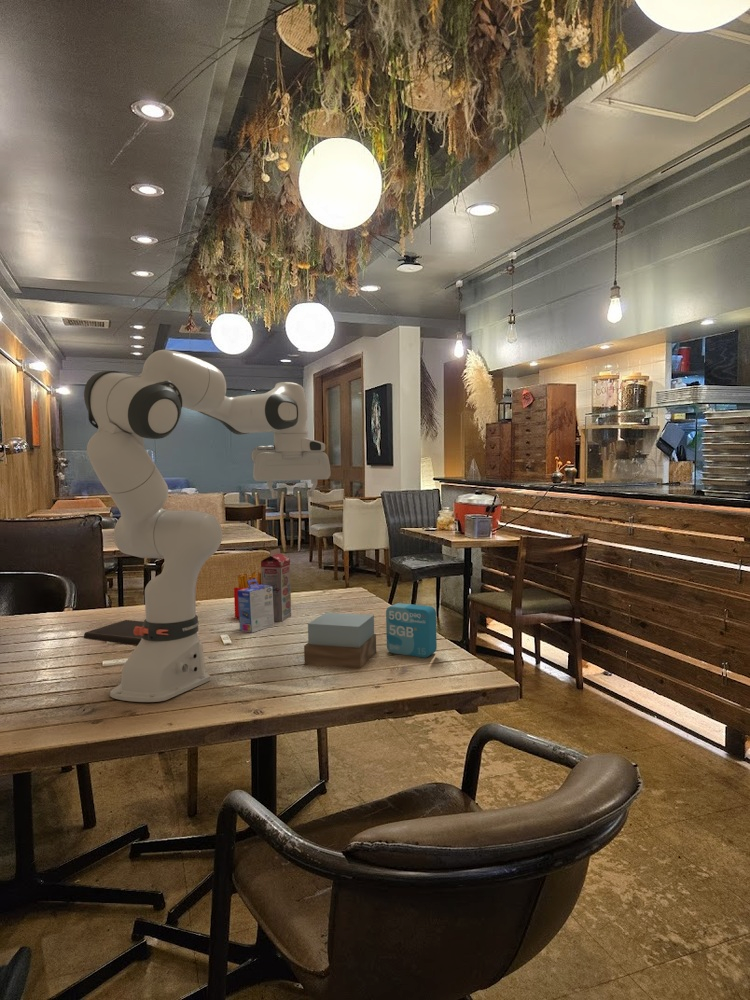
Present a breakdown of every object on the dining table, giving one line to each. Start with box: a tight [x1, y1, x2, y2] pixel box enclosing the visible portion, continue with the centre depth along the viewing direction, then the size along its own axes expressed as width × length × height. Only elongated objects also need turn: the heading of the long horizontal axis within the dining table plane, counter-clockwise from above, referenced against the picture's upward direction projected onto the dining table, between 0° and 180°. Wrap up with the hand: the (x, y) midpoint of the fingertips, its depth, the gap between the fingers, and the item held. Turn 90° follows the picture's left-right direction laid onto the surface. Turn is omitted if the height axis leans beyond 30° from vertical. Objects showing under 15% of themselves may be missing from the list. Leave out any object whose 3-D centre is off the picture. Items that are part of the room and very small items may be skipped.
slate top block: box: [307, 612, 375, 648], centre depth 161 cm, size 12×13×5 cm
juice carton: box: [260, 547, 292, 622], centre depth 202 cm, size 7×7×22 cm
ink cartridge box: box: [238, 578, 275, 634], centre depth 191 cm, size 10×6×14 cm, turn 147°
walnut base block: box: [303, 633, 377, 669], centre depth 161 cm, size 14×14×5 cm
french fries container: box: [233, 571, 262, 620], centre depth 205 cm, size 7×9×14 cm
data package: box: [385, 602, 438, 659], centre depth 163 cm, size 12×4×12 cm, turn 61°
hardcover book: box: [83, 619, 144, 646], centre depth 186 cm, size 16×23×2 cm
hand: (292, 497), depth 172 cm, fingers open, 8 cm apart
